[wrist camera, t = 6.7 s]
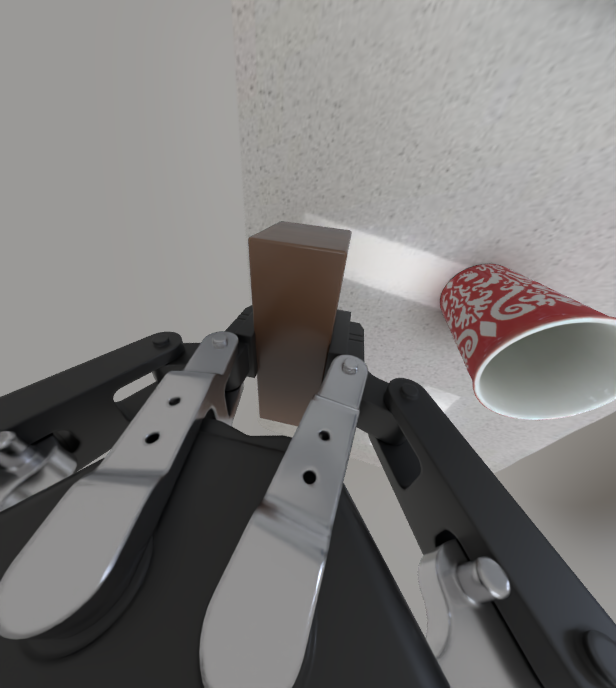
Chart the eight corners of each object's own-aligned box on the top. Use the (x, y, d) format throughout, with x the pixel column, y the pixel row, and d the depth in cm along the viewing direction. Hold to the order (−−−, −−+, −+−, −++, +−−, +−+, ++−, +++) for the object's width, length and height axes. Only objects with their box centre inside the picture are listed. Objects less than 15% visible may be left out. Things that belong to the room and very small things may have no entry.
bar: (280, 220, 9) (246, 237, 7) (352, 230, 9) (347, 252, 6) (278, 374, 15) (259, 418, 12) (323, 383, 14) (314, 430, 12)
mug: (413, 310, 28) (445, 391, 17) (473, 238, 22) (574, 291, 12) (497, 351, 29) (577, 452, 18) (574, 293, 24) (751, 387, 13)
